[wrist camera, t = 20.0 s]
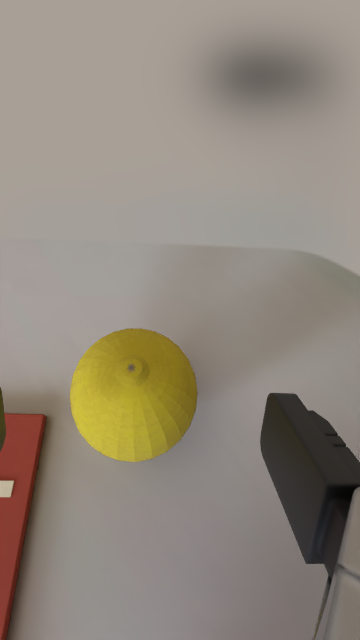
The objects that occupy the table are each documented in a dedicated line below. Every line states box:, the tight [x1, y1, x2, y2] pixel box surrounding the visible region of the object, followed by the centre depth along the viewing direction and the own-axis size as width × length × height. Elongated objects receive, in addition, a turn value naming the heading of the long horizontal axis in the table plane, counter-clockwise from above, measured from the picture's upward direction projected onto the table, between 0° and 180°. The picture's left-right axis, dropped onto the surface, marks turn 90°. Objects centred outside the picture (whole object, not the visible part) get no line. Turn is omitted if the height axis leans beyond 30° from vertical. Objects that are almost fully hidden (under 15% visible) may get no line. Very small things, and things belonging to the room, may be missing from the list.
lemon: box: [70, 329, 197, 462], centre depth 15 cm, size 6×6×8 cm
